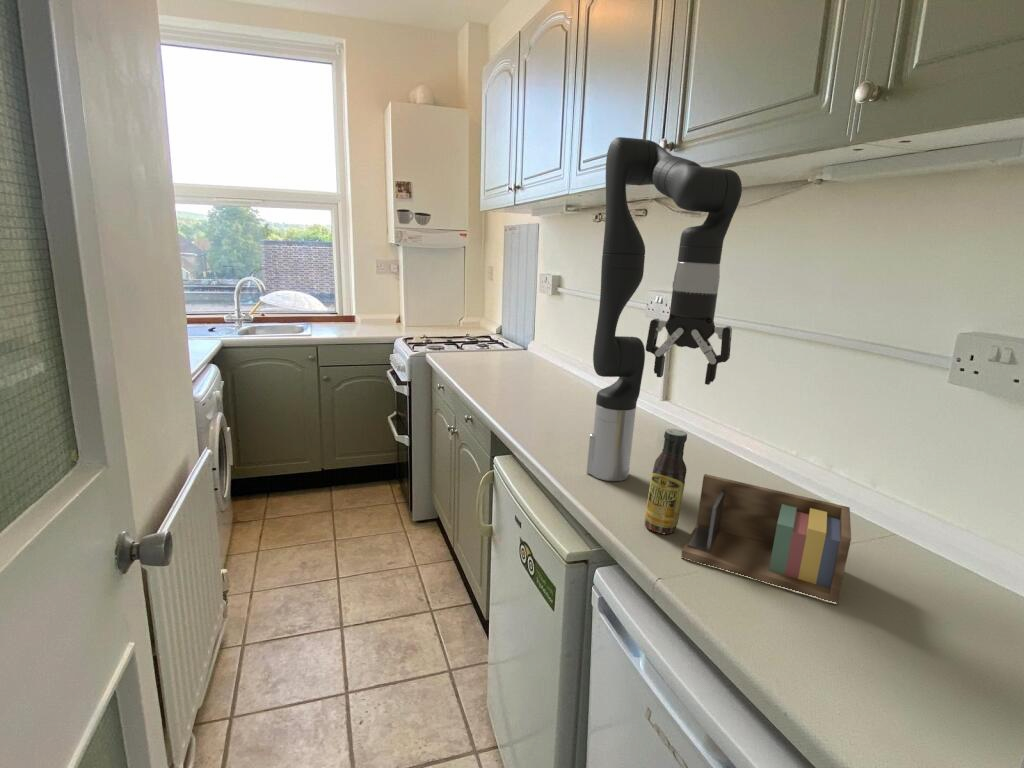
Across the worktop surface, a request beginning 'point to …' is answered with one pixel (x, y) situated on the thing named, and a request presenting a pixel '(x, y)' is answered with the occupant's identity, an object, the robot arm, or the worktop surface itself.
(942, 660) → the worktop surface
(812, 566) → the book row
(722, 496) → the bookend
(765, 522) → the shelf
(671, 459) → the sauce bottle
